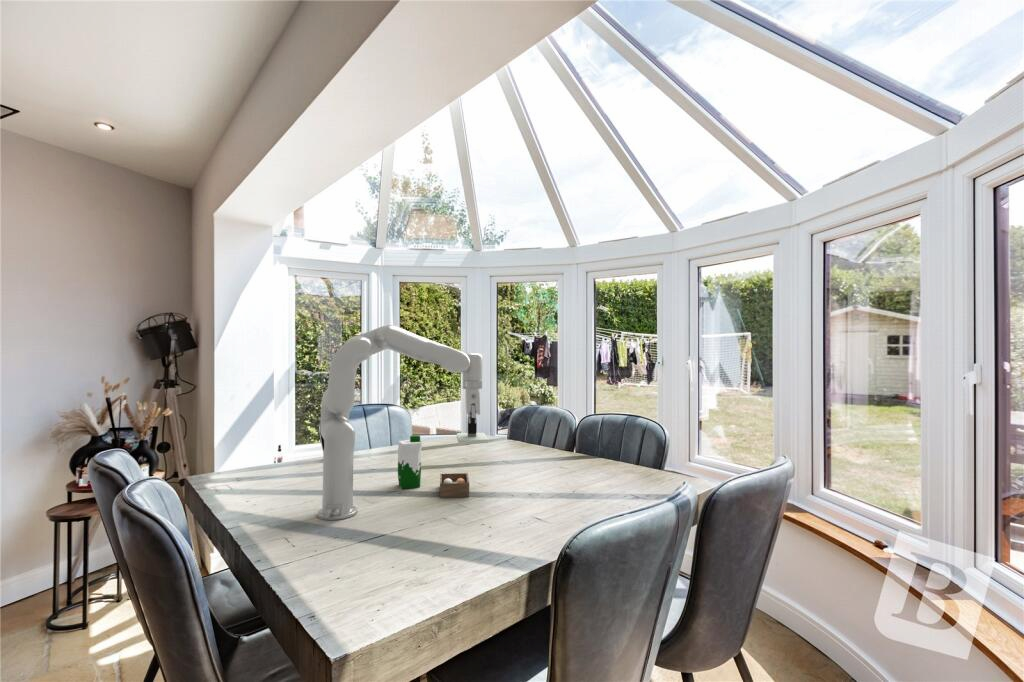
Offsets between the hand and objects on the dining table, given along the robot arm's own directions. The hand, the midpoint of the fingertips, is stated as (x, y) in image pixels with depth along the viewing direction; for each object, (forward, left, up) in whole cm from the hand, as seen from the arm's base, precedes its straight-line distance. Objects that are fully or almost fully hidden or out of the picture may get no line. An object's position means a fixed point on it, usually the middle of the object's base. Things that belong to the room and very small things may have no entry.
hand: (471, 432), depth 181 cm
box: (+4, +6, -24) cm, 25 cm away
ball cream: (+7, +9, -21) cm, 24 cm away
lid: (0, 0, -3) cm, 3 cm away
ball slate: (+1, +6, -21) cm, 22 cm away
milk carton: (+13, +24, -24) cm, 36 cm away
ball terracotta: (+7, +4, -21) cm, 23 cm away
